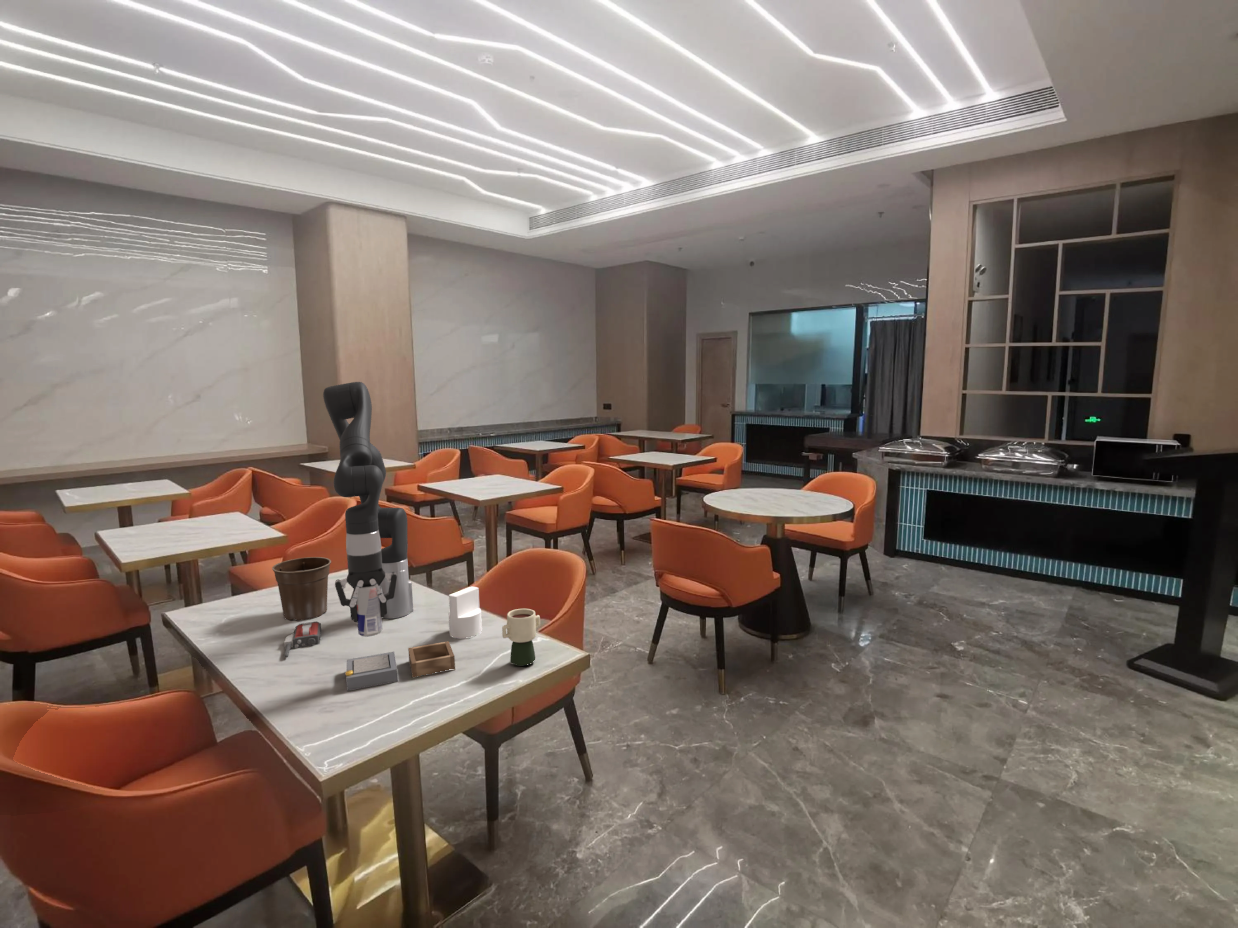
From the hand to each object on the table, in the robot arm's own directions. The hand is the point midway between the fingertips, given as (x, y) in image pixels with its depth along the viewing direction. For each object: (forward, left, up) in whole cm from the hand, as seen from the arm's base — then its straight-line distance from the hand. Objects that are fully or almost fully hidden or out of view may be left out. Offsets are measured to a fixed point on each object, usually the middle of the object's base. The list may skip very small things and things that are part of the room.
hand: (369, 618), depth 148 cm
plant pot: (-12, -56, -15) cm, 59 cm away
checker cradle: (0, 0, -14) cm, 14 cm away
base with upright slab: (-31, -3, -15) cm, 34 cm away
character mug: (-26, +25, -15) cm, 39 cm away
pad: (0, 0, -13) cm, 13 cm away
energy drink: (0, 0, -4) cm, 4 cm away
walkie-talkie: (0, -34, -15) cm, 37 cm away
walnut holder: (-12, +7, -14) cm, 20 cm away
